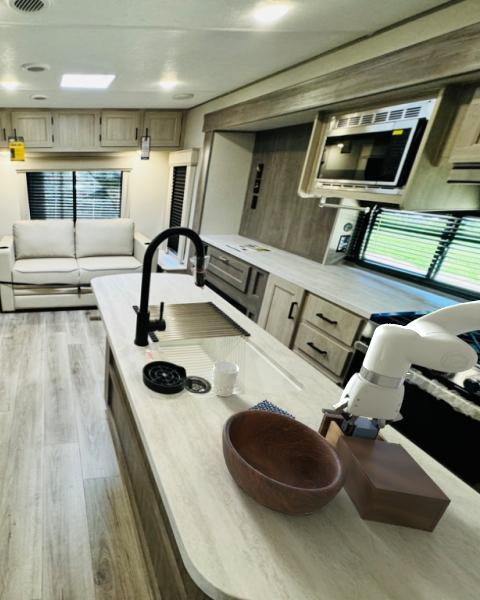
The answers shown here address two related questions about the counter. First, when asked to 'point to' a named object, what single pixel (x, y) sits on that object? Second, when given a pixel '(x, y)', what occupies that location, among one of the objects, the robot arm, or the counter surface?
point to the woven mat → (270, 408)
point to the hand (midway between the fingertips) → (357, 434)
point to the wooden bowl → (281, 461)
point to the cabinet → (390, 484)
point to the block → (364, 429)
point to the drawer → (335, 427)
